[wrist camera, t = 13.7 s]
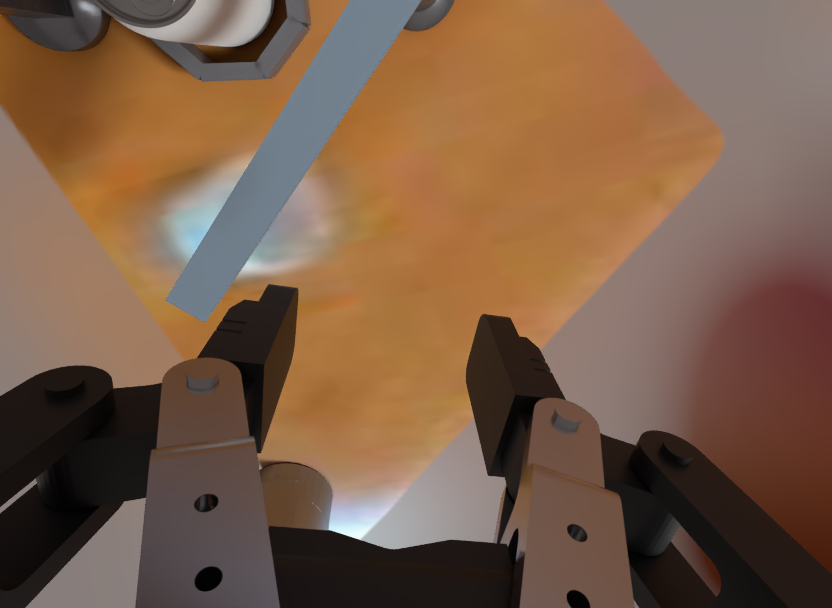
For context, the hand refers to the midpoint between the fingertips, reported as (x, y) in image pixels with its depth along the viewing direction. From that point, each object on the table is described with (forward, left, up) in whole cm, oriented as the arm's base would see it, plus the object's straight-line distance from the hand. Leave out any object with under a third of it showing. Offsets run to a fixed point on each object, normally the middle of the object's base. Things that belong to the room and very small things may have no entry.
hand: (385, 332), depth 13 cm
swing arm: (+4, +3, -11) cm, 13 cm away
